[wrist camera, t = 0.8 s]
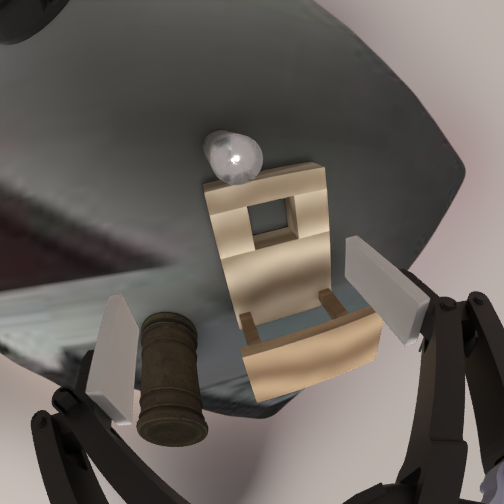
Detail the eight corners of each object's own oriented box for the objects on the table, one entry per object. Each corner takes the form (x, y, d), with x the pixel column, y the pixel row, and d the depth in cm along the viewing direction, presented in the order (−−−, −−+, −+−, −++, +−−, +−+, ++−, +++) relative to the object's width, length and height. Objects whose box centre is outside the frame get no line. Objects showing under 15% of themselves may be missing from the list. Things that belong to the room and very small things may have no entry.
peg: (199, 134, 30) (206, 140, 20) (233, 127, 30) (258, 130, 20) (206, 166, 32) (217, 190, 21) (239, 159, 32) (266, 179, 22)
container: (143, 307, 38) (132, 412, 23) (202, 316, 41) (218, 418, 26) (139, 348, 42) (134, 445, 26) (191, 355, 45) (203, 450, 29)
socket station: (198, 185, 33) (208, 239, 19) (314, 160, 34) (395, 195, 20) (232, 315, 42) (257, 402, 28) (323, 289, 44) (375, 359, 30)
